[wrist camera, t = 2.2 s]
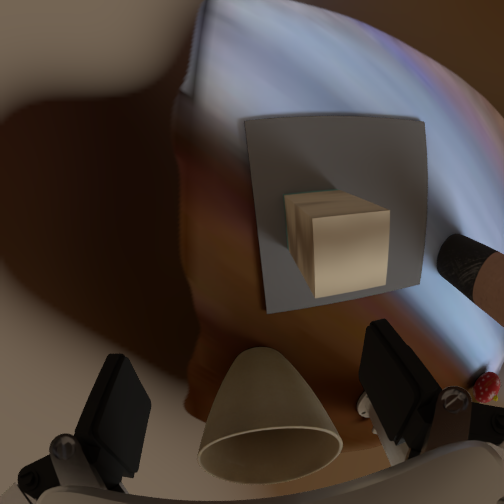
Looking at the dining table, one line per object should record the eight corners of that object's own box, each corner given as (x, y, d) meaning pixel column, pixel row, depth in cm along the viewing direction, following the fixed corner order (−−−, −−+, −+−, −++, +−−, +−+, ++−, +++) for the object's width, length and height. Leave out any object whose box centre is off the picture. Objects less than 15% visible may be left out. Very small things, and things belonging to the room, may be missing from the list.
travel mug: (447, 287, 35) (529, 359, 16) (427, 262, 33) (526, 339, 14) (473, 250, 33) (561, 307, 14) (455, 221, 31) (561, 276, 12)
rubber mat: (417, 282, 34) (419, 284, 33) (266, 311, 33) (267, 313, 33) (421, 121, 26) (424, 121, 26) (244, 121, 26) (244, 120, 25)
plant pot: (314, 318, 34) (358, 414, 19) (305, 392, 39) (328, 474, 24) (197, 325, 33) (182, 431, 18) (211, 399, 39) (208, 486, 24)
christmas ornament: (493, 360, 46) (512, 382, 37) (484, 380, 49) (500, 401, 40) (473, 374, 46) (492, 398, 37) (464, 394, 49) (481, 417, 40)
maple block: (338, 241, 30) (385, 284, 20) (287, 248, 30) (315, 298, 20) (336, 189, 28) (389, 210, 18) (282, 194, 28) (312, 218, 18)
